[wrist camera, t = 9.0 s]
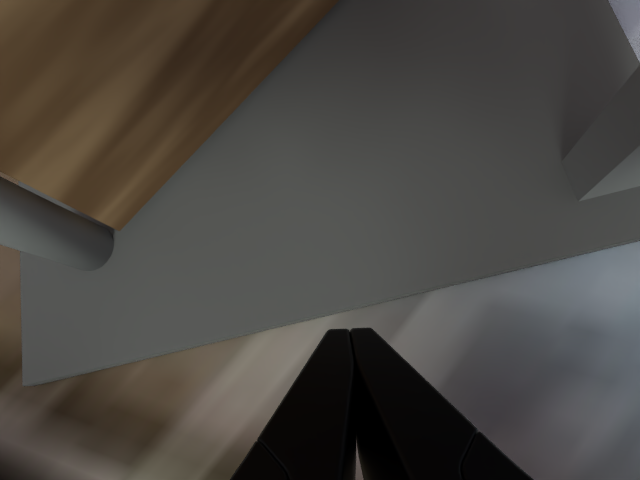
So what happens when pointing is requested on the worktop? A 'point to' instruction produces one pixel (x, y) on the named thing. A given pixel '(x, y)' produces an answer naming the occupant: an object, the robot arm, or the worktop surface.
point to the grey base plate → (352, 183)
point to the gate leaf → (129, 88)
